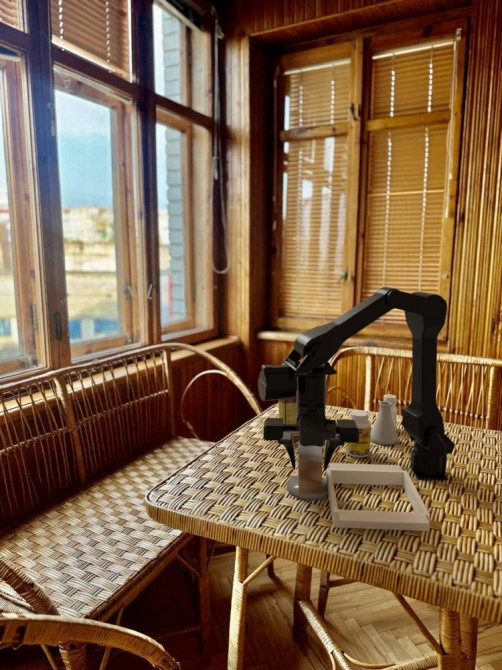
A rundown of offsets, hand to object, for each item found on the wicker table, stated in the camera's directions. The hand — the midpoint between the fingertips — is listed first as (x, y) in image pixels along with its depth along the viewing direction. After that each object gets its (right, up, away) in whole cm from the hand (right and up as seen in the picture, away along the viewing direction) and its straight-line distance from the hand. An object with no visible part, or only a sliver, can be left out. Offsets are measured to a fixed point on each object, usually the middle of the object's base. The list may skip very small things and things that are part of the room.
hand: (309, 469), depth 97 cm
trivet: (0, -4, +1) cm, 4 cm away
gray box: (0, -3, +1) cm, 4 cm away
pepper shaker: (+25, +2, +32) cm, 40 cm away
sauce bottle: (-2, 0, +26) cm, 26 cm away
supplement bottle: (+14, -1, +17) cm, 22 cm away
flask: (+22, 0, +25) cm, 33 cm away
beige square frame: (+12, -5, -5) cm, 14 cm away
